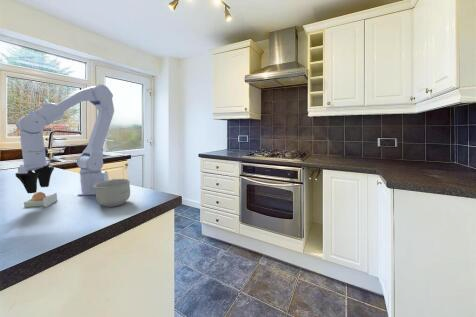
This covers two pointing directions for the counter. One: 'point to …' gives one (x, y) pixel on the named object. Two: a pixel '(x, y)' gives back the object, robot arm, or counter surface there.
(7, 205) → the counter surface
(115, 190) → the teacup
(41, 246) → the counter surface
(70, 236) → the counter surface
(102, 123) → the robot arm
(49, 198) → the wall
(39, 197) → the ball
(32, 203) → the tray
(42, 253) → the counter surface
